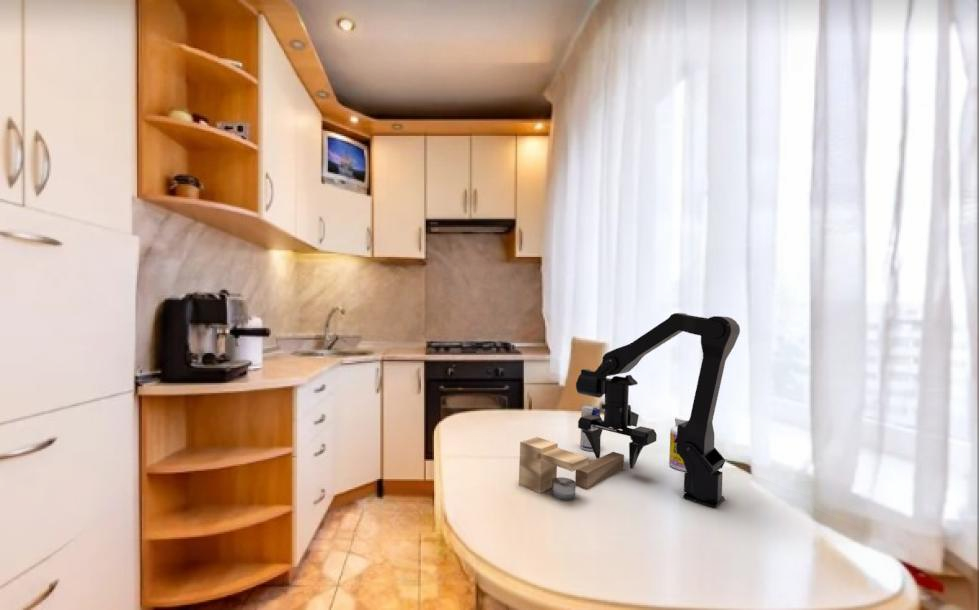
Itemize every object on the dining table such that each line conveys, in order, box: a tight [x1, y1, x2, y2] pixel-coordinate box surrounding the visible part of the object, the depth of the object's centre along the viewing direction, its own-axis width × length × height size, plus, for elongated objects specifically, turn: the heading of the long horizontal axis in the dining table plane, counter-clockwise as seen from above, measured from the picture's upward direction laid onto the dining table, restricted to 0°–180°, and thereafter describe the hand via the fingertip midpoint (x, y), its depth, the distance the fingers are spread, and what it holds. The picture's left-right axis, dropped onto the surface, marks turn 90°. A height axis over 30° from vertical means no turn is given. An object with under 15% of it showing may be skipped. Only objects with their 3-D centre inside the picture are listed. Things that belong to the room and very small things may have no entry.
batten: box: [574, 451, 625, 491], centre depth 99 cm, size 3×18×4 cm, turn 137°
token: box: [551, 476, 577, 502], centre depth 88 cm, size 5×5×3 cm
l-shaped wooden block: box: [518, 436, 590, 494], centre depth 91 cm, size 14×6×10 cm, turn 45°
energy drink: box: [579, 404, 601, 452], centre depth 120 cm, size 5×5×12 cm
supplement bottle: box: [668, 415, 690, 472], centre depth 108 cm, size 7×7×13 cm
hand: (614, 463), depth 104 cm, fingers open, 9 cm apart
